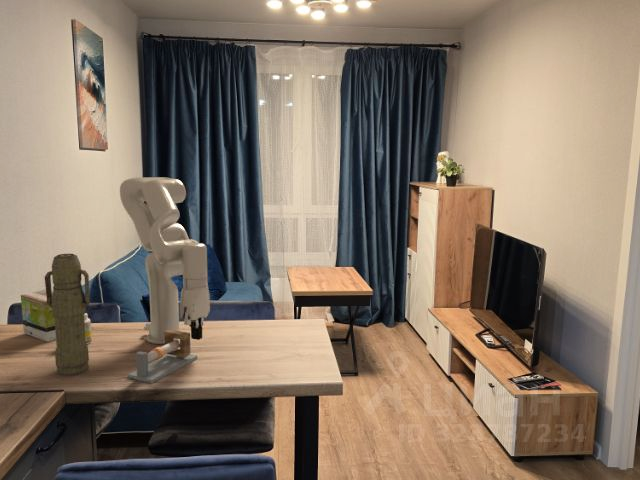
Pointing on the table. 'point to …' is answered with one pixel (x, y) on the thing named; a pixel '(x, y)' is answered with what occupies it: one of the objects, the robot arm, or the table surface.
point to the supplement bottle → (87, 329)
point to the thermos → (69, 313)
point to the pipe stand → (159, 362)
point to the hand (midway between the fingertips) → (196, 338)
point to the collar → (184, 342)
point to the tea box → (38, 316)
